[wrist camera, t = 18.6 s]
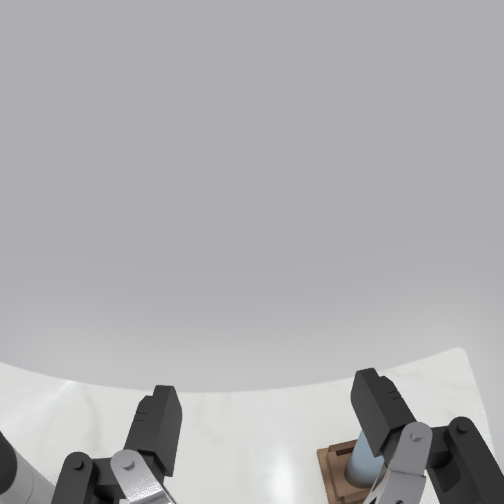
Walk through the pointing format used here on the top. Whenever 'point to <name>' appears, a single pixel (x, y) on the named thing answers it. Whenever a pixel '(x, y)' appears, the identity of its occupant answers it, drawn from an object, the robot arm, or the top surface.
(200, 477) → the top surface
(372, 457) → the candle jar
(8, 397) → the top surface
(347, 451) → the tray
